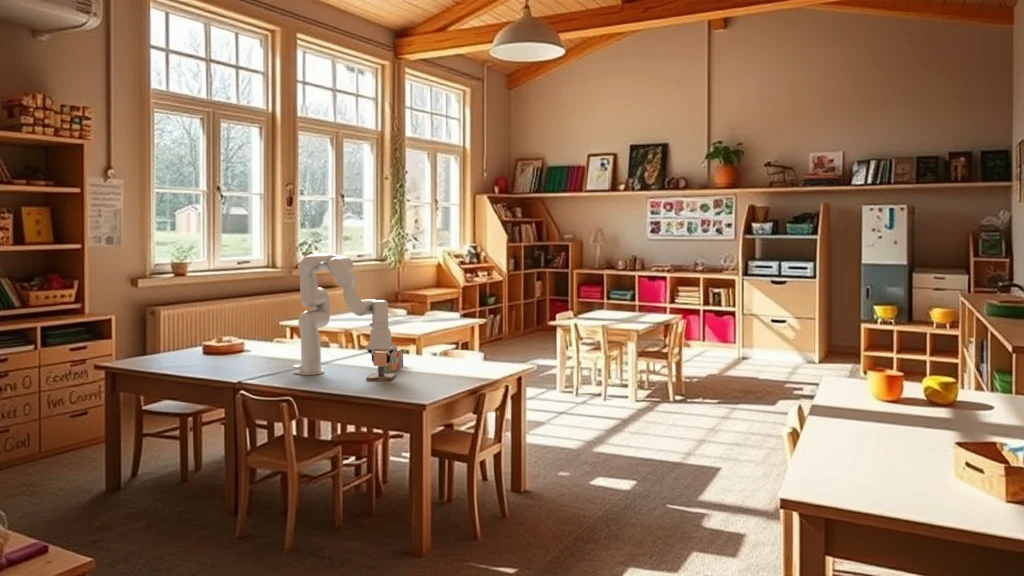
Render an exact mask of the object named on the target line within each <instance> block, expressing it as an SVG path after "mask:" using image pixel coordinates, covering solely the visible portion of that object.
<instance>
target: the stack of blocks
mask: <svg viewBox="0 0 1024 576" xmlns="http://www.w3.org/2000/svg"><path fill="white" fill-rule="evenodd" d="M396 346H397V348H396V349H395V350H394V351H393V352H392V353H391V354H390V361H389V364H388V365H387V366H377V368H378V367H384V373H393V372H394V371H396V370H398V369H400V368H401V367H403V366H404V353H403V352H404V351H403V350H404V349H403V348H399V347H398V345H396ZM392 349H393V347H391V348H390V351H391V350H392ZM377 352H386V350H377Z"/></svg>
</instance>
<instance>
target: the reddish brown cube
mask: <svg viewBox="0 0 1024 576" xmlns="http://www.w3.org/2000/svg"><path fill="white" fill-rule="evenodd" d="M388 364H389V363H387V352H378V351H375V353H374V363H373V366H374V367H378V366H387V365H388Z"/></svg>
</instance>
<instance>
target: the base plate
mask: <svg viewBox="0 0 1024 576" xmlns="http://www.w3.org/2000/svg"><path fill="white" fill-rule="evenodd" d="M396 376H397V374H396V372H390V373H386V372H384V367H378V366H377V372H371V373H370V374H369V375H368V376H367V377H365V379H366V382H392V381H393V380H394V379H395V378H396Z"/></svg>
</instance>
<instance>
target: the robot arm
mask: <svg viewBox="0 0 1024 576" xmlns="http://www.w3.org/2000/svg"><path fill="white" fill-rule="evenodd" d="M353 270H354V263H353V260H352V259H351V258H349V256H343V255H337V254H332V253H313V254H309V255H306V256H305V257H303V258H302V259H301V260H300V262H299V265H298V273H299V289H300V290H299V291H300V293H299V294H300V303H301V305H302V306H303V307H304V308H308V310H305V311H303V312H301V313H300V315H299V316H298V321H297V322H298V323H297V324H298V326H299V332H300V333H299V334H300V354H301V355H300V358H301V359H300V360H301V363H300V364H299V365H298V364H293V367H292V369H294V370H298V374H299V375H302V376H314V375H315V376H316V375H321V374H322V375H323V374H324V373H325V370H324V369H322V360H321V359H322V355H321V354H322V353H321V349H322V348H321V345H322V344H321V335H320V331H319V329H320V328H324V327H326V326H327V325H328V324H329V323H330V316H331V315H330V314H331V311H330V296H329V293H328V291H327V290H326V289H325V288H323V287H319V285H318V281H319V280H318V277H317V275H316V272H324V271H327V272H328V271H329V273H330V274H331V275H332V276H333V278H334V280H335V281H336V282H337V284H338V285H339V287H340V289H342V295H343V299H344V302H345V304H346V305H347V307H348V308H349V310H350V311H351V312H352V313H353V314H354V315H355V316H358V317H363V316H369V315H371V316H372V319H371V320H372V322H371V323H369V327H372V328H370V333H369V342H368V343H367V344H366V345H365V346H364V349H365V350H366V351H367V352H368V354H370V355H371V362H372V363H373V364H374V353H375V352H377V351H378V350H386V352H387V363H389V361H390V354H391V353H392V352H393V351H394V350H395V349H396V348H398V345H397V346H396V345H395V343H393V341H392V333H391V329H390V328H389V303H388V301H387V300H385V299H377V300H376V299H372V298H368V299H366V298H365V299H361V298H360V297H359V296H358V294H357V293H356V289H355V286H356V285H357V284H358V278H357V277H356V276H355V274H354V273H353ZM309 308H312V309H309ZM391 347H393V349H392V350H391V351H390V348H391Z"/></svg>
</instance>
